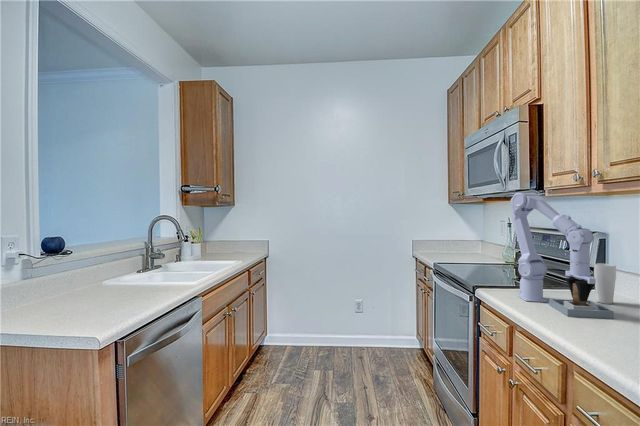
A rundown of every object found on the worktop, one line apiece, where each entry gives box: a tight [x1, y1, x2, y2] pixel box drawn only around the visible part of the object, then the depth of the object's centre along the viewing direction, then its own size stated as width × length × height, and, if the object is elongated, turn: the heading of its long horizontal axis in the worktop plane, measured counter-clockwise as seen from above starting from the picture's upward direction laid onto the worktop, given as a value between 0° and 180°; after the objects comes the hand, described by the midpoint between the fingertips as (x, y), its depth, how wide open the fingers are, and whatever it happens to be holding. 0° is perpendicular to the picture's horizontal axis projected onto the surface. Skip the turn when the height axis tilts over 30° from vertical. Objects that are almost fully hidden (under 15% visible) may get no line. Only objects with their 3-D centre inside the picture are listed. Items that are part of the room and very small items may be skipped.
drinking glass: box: [593, 263, 617, 305], centre depth 138 cm, size 7×7×15 cm
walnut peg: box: [572, 283, 586, 306], centre depth 127 cm, size 4×4×8 cm
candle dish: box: [548, 298, 615, 320], centre depth 127 cm, size 14×14×3 cm
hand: (579, 299), depth 127 cm, fingers closed on walnut peg, 4 cm apart
